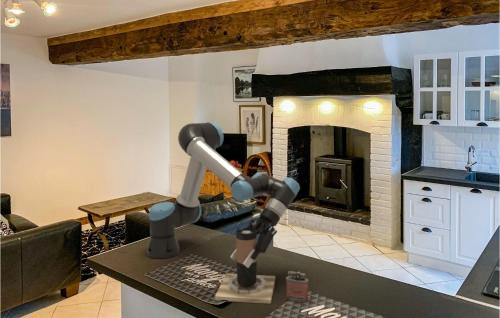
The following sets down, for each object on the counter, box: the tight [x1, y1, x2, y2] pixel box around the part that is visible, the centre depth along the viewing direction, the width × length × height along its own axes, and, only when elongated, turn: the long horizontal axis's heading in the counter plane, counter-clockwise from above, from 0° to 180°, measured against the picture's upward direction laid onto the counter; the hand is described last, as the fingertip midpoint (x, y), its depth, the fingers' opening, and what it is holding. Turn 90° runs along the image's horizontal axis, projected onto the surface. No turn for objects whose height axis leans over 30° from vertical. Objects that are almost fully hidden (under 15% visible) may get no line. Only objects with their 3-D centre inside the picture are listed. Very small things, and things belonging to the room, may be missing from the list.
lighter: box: [285, 270, 309, 303], centre depth 144 cm, size 8×3×10 cm, turn 71°
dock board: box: [214, 273, 276, 305], centre depth 152 cm, size 20×20×2 cm
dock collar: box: [228, 274, 266, 294], centre depth 152 cm, size 14×14×2 cm
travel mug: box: [235, 227, 258, 286], centre depth 150 cm, size 8×8×20 cm
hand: (239, 262), depth 148 cm, fingers closed on travel mug, 7 cm apart
